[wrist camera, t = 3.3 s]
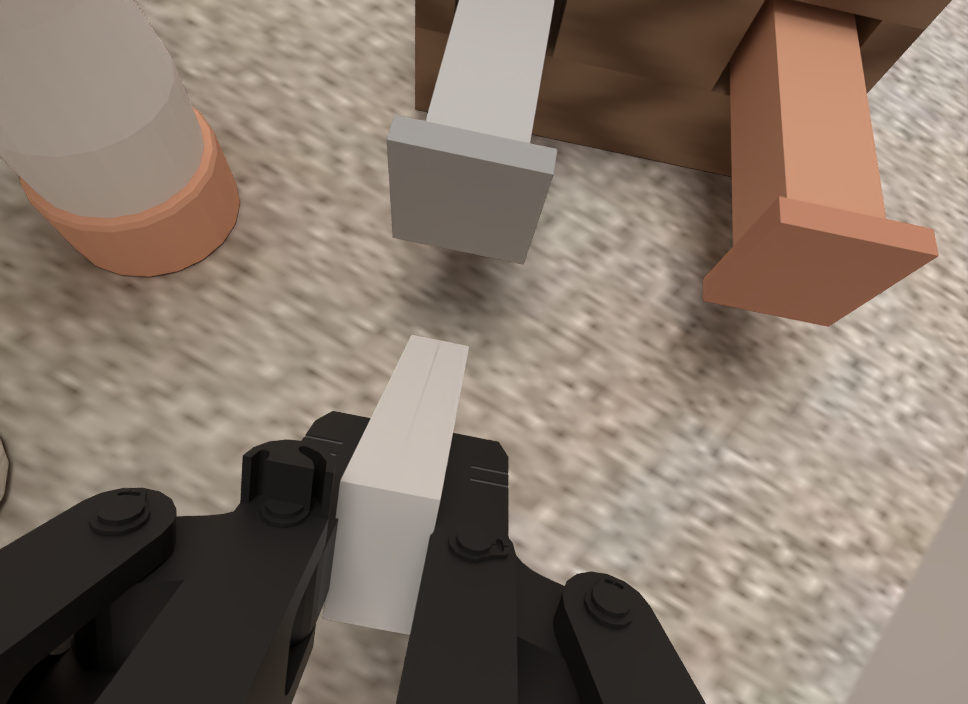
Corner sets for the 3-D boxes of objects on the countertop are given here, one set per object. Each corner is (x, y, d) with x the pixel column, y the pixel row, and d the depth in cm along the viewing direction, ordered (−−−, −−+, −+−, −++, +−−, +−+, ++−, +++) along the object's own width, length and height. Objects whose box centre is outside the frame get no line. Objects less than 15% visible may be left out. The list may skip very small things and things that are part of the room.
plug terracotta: (702, 300, 22) (780, 222, 17) (704, 49, 27) (763, -61, 23) (828, 326, 22) (938, 255, 17) (804, 71, 27) (882, -33, 23)
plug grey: (392, 237, 21) (386, 139, 17) (459, -5, 27) (469, -128, 22) (523, 264, 21) (553, 174, 17) (563, 18, 27) (593, -100, 22)
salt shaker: (77, 147, 26) (-593, -735, 9) (240, 142, 28) (-63, -647, 10) (56, 283, 24) (-967, -600, 6) (239, 271, 25) (-181, -500, 7)
